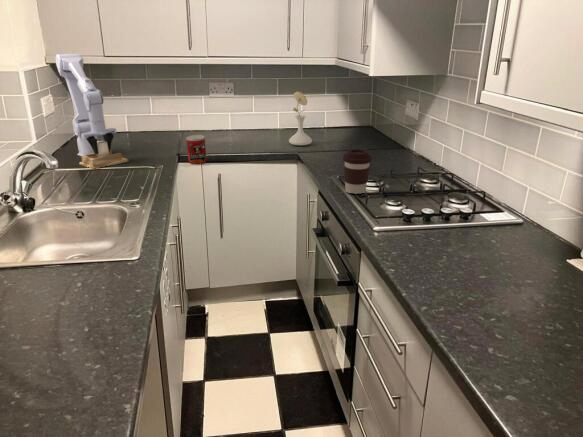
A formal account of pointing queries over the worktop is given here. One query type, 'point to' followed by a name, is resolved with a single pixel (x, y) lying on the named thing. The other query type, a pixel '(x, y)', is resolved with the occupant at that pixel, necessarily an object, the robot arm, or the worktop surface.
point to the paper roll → (102, 148)
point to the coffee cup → (356, 170)
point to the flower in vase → (300, 123)
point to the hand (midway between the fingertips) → (102, 152)
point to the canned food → (196, 149)
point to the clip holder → (102, 160)
